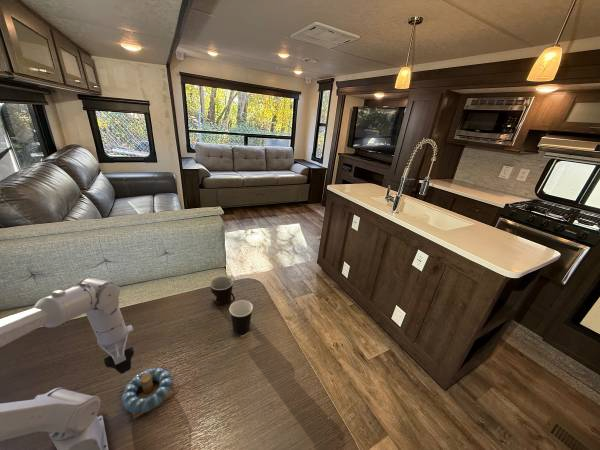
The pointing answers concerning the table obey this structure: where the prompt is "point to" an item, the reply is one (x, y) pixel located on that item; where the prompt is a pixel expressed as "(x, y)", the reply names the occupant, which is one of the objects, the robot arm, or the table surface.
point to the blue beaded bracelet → (147, 404)
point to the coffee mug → (222, 290)
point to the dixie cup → (241, 316)
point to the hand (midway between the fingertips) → (122, 359)
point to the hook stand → (148, 389)
